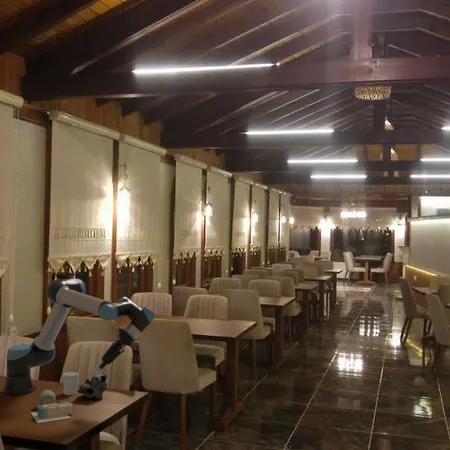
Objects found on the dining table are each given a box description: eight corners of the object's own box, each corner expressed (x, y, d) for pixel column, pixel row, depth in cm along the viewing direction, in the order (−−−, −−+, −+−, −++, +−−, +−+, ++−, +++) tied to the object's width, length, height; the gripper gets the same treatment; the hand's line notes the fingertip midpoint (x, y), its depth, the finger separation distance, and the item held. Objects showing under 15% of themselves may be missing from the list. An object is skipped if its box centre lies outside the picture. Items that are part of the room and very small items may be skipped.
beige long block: (69, 410, 263) (37, 414, 256) (69, 401, 263) (37, 405, 256) (72, 413, 257) (40, 418, 251) (72, 405, 258) (40, 409, 251)
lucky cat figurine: (82, 393, 293) (95, 368, 296) (102, 403, 290) (115, 378, 294) (72, 392, 278) (86, 365, 282) (93, 403, 276) (107, 376, 280)
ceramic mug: (39, 411, 263) (40, 394, 263) (38, 406, 270) (38, 389, 271) (63, 409, 267) (63, 392, 267) (61, 404, 274) (61, 388, 275)
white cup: (82, 392, 294) (82, 373, 294) (70, 396, 287) (70, 376, 288) (71, 390, 298) (71, 371, 299) (59, 394, 292) (59, 374, 292)
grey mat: (30, 413, 259) (30, 412, 259) (62, 409, 266) (62, 408, 266) (37, 423, 245) (37, 422, 245) (70, 418, 252) (70, 417, 252)
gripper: (139, 342, 269) (103, 381, 261) (130, 337, 280) (96, 375, 272) (128, 331, 267) (92, 371, 258) (119, 327, 278) (85, 365, 270)
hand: (94, 373), depth 265 cm, fingers closed
